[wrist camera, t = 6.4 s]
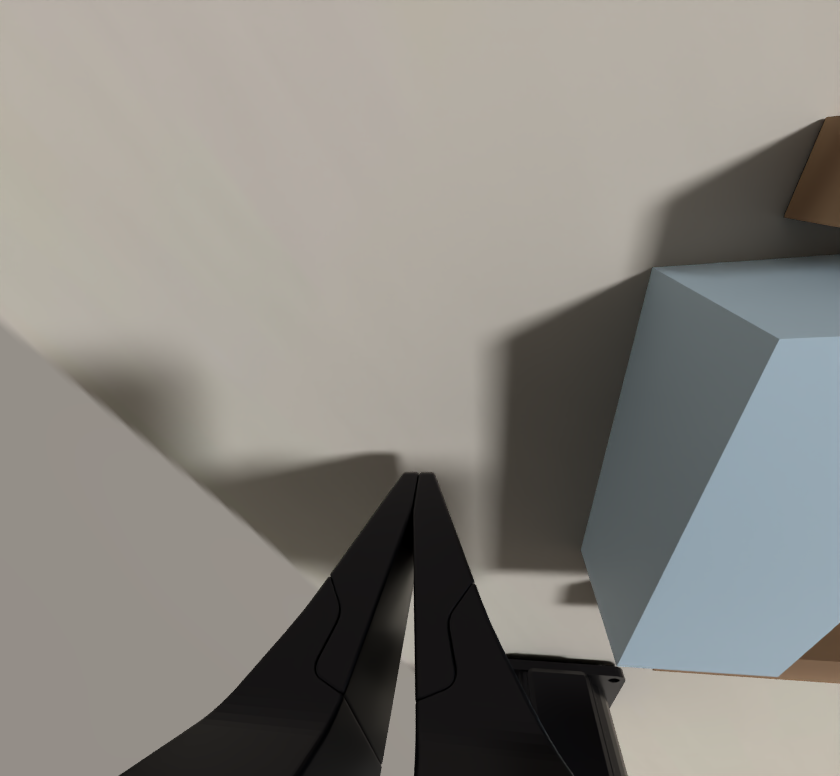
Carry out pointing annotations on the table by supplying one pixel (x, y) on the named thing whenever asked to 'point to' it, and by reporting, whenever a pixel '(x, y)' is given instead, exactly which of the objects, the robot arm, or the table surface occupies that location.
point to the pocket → (835, 206)
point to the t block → (724, 471)
